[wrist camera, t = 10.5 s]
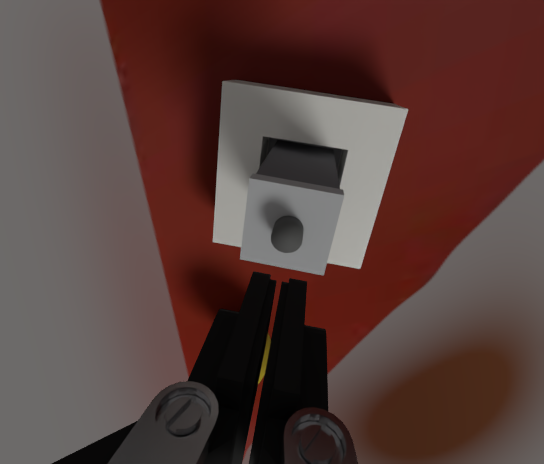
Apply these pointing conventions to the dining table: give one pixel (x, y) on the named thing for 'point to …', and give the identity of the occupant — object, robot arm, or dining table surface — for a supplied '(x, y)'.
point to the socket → (314, 132)
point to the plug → (292, 208)
